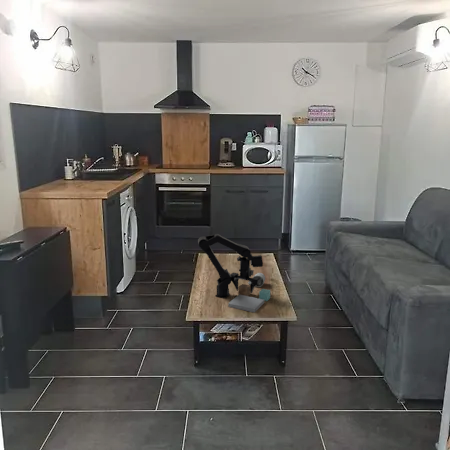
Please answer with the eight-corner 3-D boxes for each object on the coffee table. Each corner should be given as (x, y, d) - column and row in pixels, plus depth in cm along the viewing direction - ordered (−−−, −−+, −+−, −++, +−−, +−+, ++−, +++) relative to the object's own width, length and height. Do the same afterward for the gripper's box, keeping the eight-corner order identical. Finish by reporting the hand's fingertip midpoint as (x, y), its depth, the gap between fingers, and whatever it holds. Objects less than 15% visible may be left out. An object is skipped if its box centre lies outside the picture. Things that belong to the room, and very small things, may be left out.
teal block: (259, 299, 257) (259, 291, 256) (262, 296, 262) (262, 288, 260) (267, 301, 255) (267, 293, 254) (270, 298, 259) (270, 290, 258)
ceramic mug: (265, 283, 282) (265, 271, 280) (263, 287, 274) (263, 276, 272) (249, 281, 284) (249, 270, 283) (246, 286, 277) (246, 274, 275)
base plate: (228, 306, 248) (228, 303, 247) (239, 297, 260) (239, 294, 259) (254, 312, 241) (254, 309, 240) (264, 302, 253) (264, 299, 252)
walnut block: (238, 295, 263) (238, 286, 262) (242, 292, 268) (242, 283, 266) (246, 297, 260) (246, 288, 259) (250, 293, 265) (250, 285, 264)
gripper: (264, 265, 262) (264, 290, 266) (236, 260, 271) (236, 284, 275) (257, 271, 253) (256, 296, 257) (228, 266, 261) (228, 290, 265)
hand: (244, 291), depth 264 cm, fingers open, 9 cm apart
